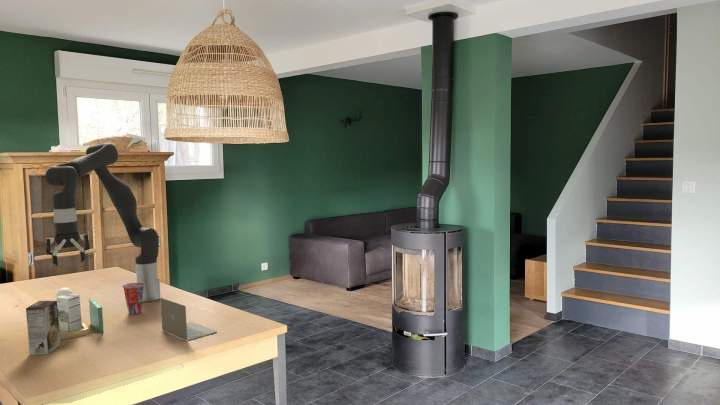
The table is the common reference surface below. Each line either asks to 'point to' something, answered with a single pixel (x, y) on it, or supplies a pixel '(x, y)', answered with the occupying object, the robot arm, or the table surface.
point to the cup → (134, 297)
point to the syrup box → (69, 313)
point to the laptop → (180, 322)
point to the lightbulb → (63, 292)
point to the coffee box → (43, 327)
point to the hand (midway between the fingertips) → (69, 263)
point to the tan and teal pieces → (95, 320)
